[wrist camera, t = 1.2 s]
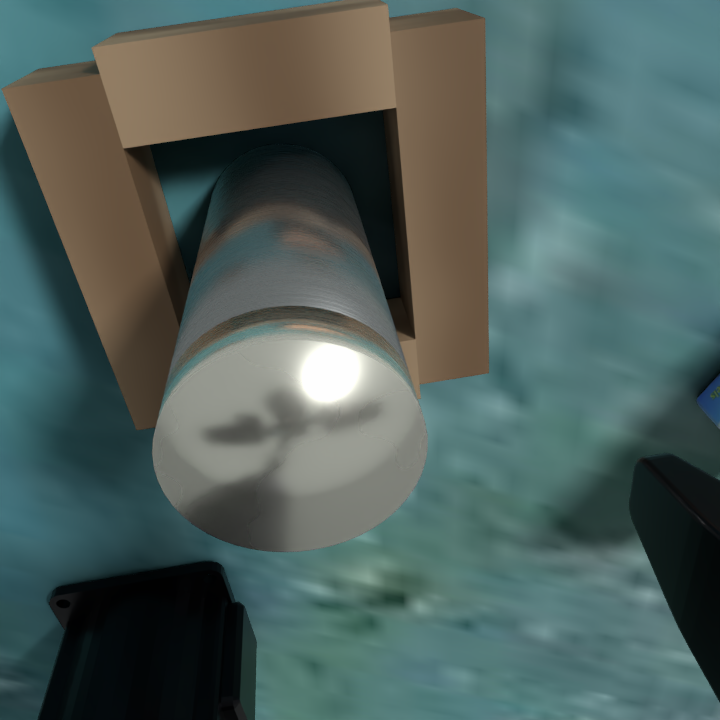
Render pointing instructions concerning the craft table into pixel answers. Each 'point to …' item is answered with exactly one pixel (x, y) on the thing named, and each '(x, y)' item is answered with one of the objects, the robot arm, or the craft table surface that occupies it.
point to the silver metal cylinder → (287, 367)
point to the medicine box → (711, 401)
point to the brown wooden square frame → (258, 110)
